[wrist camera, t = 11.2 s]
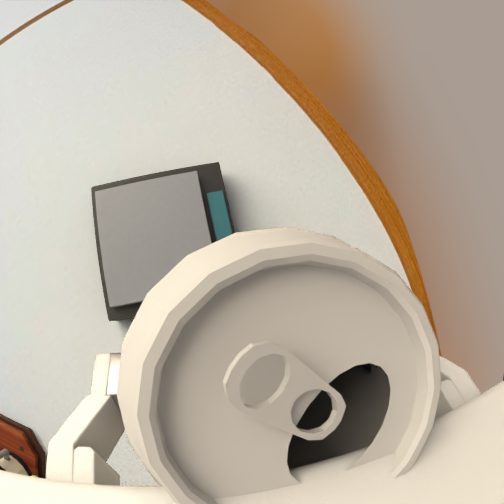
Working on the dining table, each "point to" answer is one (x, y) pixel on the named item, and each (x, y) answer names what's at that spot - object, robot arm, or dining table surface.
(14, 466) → the contraption on wooden base
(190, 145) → the dining table surface
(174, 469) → the can
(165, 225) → the scale
